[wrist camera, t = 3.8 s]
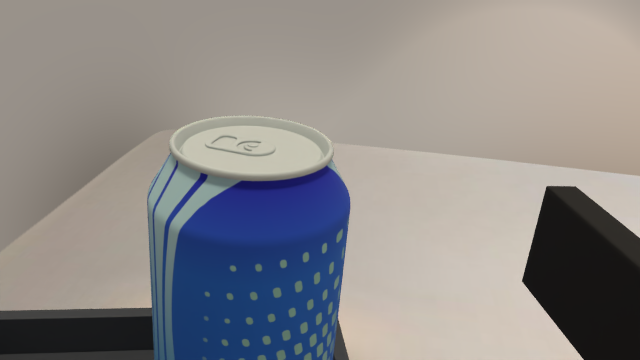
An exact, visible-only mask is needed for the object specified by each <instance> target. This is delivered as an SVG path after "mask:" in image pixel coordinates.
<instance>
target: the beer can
mask: <svg viewBox="0 0 640 360" xmlns="http://www.w3.org/2000/svg"><path fill="white" fill-rule="evenodd" d="M169 148H170V152H171V153H170V155H169V156H168V158H167V159H166V161H165V162H164V164H163V165H162V167H161V169H160V170H159V172H158V173H157V175H156V176H155V178H154V180H153V181H152V183H151V185H150V188H149V191H148V198H147V206H148V228H149V251H150V274H151V297H152V319H153V342H154V360H333V354H334V346H335V337H336V328H337V319H338V311H339V302H340V293H341V284H342V276H343V267H344V258H345V249H346V241H347V232H348V223H349V214H350V197H349V193H348V190H347V187H346V185H345V184H344V182H343V180H342V178H341V176H340V174H339V172H338V170H337V168H336V166H335V164H334V162H333V160H332V158H333V154H334V148H333V144H332V142H331V141H330V140H329V139H328V138H327V137H326V136H325V135H324V134H322V133H321V132H319V131H317V130H316V129H314V128H311V127H309V126H306V125H303V124H300V123H297V122H293V121H289V120H284V119H278V118H271V117H262V116H226V117H225V116H224V117H216V118H210V119H204V120H200V121H197V122H193V123H191V124H188V125H186V126H184V127H182V128H180V129H179V130H177V131H176V132H175V133H174V134H173V135H172V137H171V139H170V142H169Z"/></svg>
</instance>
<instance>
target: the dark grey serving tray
mask: <svg viewBox="0 0 640 360" xmlns="http://www.w3.org/2000/svg"><path fill="white" fill-rule="evenodd" d="M0 360H154V342H153V319H152V308H121V309H71V310H22V311H0ZM333 360H349V358H348V354H347V350H346V347H345V343H344V339H343V336H342V332H341V328H340V324H339V321H338V319H337V328H336V337H335V346H334V354H333Z"/></svg>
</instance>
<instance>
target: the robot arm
mask: <svg viewBox="0 0 640 360" xmlns="http://www.w3.org/2000/svg"><path fill="white" fill-rule="evenodd" d="M522 282H523V283H524V284H525V286H526V287H527V288H528V289H529V291H530V292H531V293H532V295H533V296H534V297H535V298H536V300H537V301H538V302H539V303H540V305H541V306H542V307H543V308H544V310H545V311H546V312H547V314H548V315H549V316H550V317H551V319H552V320H553V321H554V322H555V324H556V325H557V326H558V328H559V329H560V330H561V331H562V333H563V334H564V335H565V336H566V338H567V339H568V340H569V341H570V343H571V344H572V345H573V347H574V348H575V349H576V350H577V352H578V353H579V354H580V355H581V357H582V358H583V359H584V360H640V238H639V237H638V236H636V235H635V234H634V233H633V232H631V231H630V230H629V229H628V228H626V227H625V226H624V225H623V224H622V223H620V222H619V221H618V220H617V219H615V218H614V217H613V216H612V215H610V214H609V213H608V212H607V211H605V210H604V209H603V208H602V207H600V206H599V205H598V204H597V203H595V202H594V201H593V200H592V199H590V198H589V197H588V196H587V195H585V194H584V193H583V192H582V191H580V190H579V189H578V188H577V187H571V186H547V187H546V191H545V194H544V198H543V202H542V206H541V210H540V214H539V218H538V222H537V225H536V229H535V233H534V237H533V241H532V245H531V249H530V252H529V256H528V260H527V264H526V268H525V272H524V276H523V279H522Z"/></svg>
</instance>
